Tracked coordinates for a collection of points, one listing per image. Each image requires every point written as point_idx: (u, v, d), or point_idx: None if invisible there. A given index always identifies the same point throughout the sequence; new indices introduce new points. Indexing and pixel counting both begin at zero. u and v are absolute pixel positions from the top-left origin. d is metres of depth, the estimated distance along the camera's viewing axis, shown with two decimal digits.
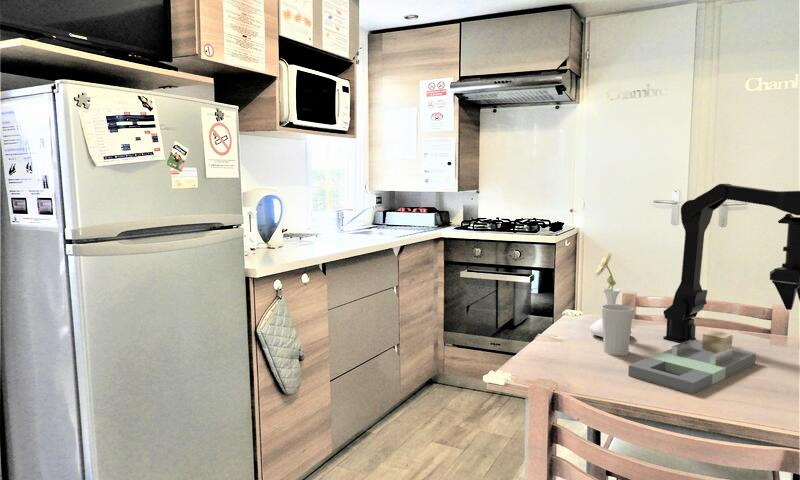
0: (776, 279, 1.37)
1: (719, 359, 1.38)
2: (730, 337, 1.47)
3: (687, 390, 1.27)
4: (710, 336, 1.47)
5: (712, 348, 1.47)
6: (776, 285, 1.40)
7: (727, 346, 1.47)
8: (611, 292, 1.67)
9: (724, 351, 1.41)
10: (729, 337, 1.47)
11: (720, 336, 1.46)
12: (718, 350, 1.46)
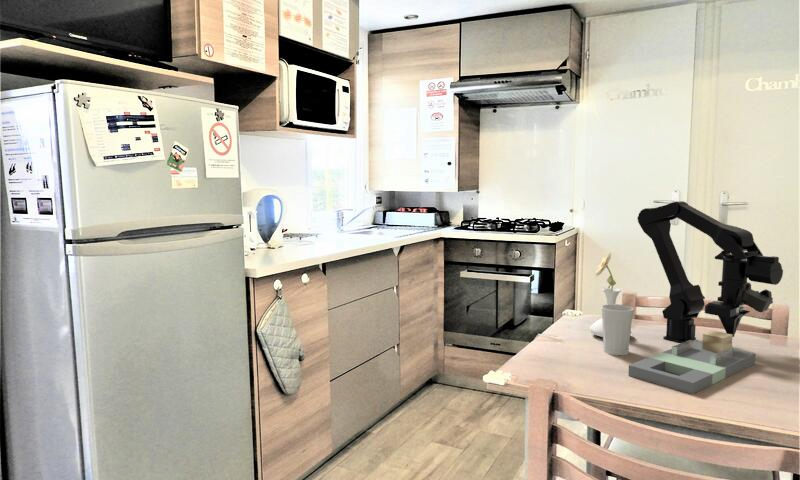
0: (710, 313, 1.48)
1: (719, 359, 1.38)
2: (730, 337, 1.47)
3: (687, 390, 1.27)
4: (710, 336, 1.47)
5: (712, 348, 1.47)
6: None
7: (727, 346, 1.47)
8: (611, 292, 1.67)
9: (724, 351, 1.41)
10: (729, 337, 1.47)
11: (720, 336, 1.46)
12: (718, 350, 1.46)
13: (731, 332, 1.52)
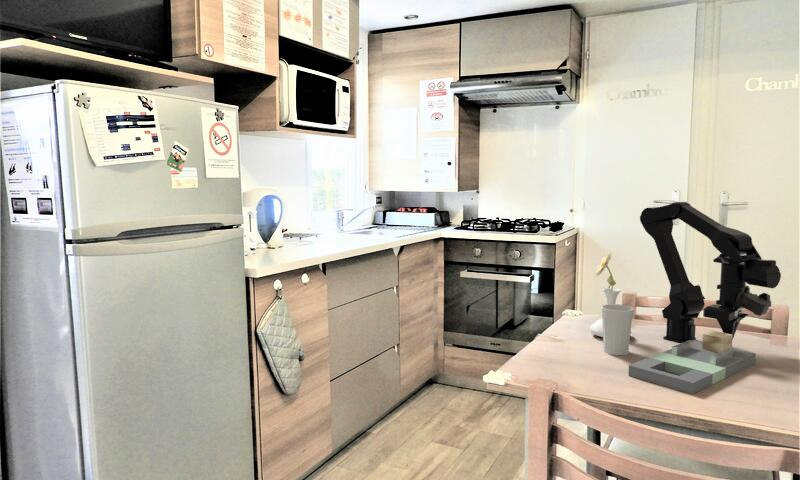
0: (708, 316, 1.47)
1: (719, 359, 1.38)
2: (730, 337, 1.47)
3: (687, 390, 1.27)
4: (710, 336, 1.47)
5: (712, 348, 1.47)
6: (717, 318, 1.53)
7: (727, 346, 1.47)
8: (611, 292, 1.67)
9: (724, 351, 1.41)
10: (729, 337, 1.47)
11: (720, 336, 1.46)
12: (718, 350, 1.46)
13: None
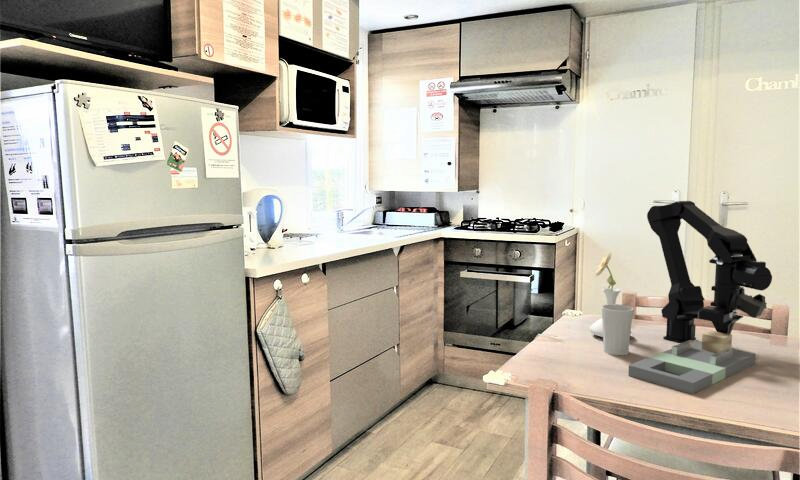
0: (703, 318, 1.46)
1: (719, 359, 1.38)
2: (730, 337, 1.47)
3: (687, 390, 1.27)
4: (710, 336, 1.47)
5: (712, 349, 1.47)
6: None
7: (727, 346, 1.46)
8: (611, 292, 1.67)
9: (724, 351, 1.41)
10: (729, 337, 1.47)
11: (720, 336, 1.46)
12: (718, 350, 1.46)
13: None
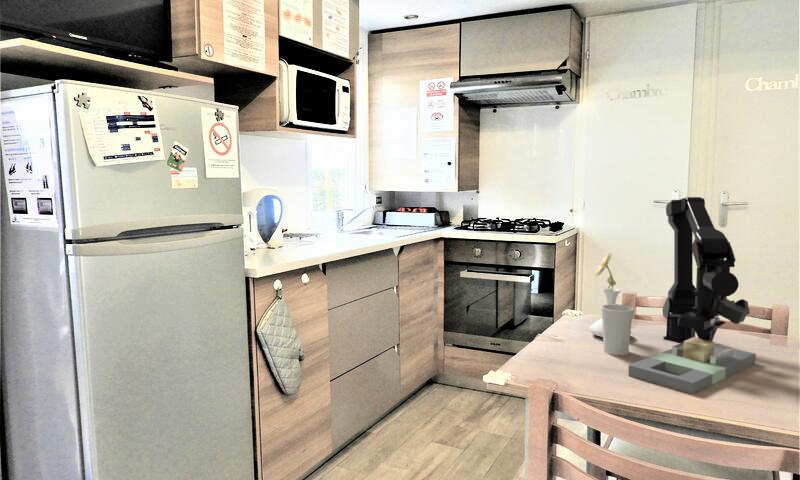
0: (683, 325, 1.39)
1: (719, 359, 1.38)
2: (712, 344, 1.41)
3: (687, 390, 1.27)
4: (691, 344, 1.41)
5: (693, 356, 1.41)
6: None
7: (708, 354, 1.41)
8: (611, 292, 1.67)
9: (724, 351, 1.41)
10: (711, 344, 1.41)
11: (701, 344, 1.40)
12: (699, 358, 1.40)
13: None
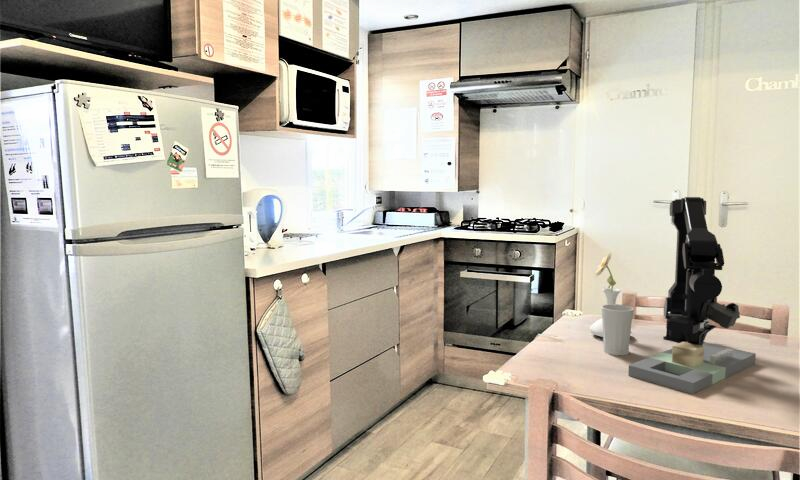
0: (672, 328, 1.36)
1: (719, 359, 1.38)
2: (702, 349, 1.38)
3: (687, 390, 1.27)
4: (680, 348, 1.38)
5: (683, 361, 1.37)
6: None
7: (698, 359, 1.37)
8: (611, 292, 1.67)
9: (724, 351, 1.41)
10: (700, 349, 1.37)
11: (691, 348, 1.37)
12: (689, 363, 1.36)
13: None
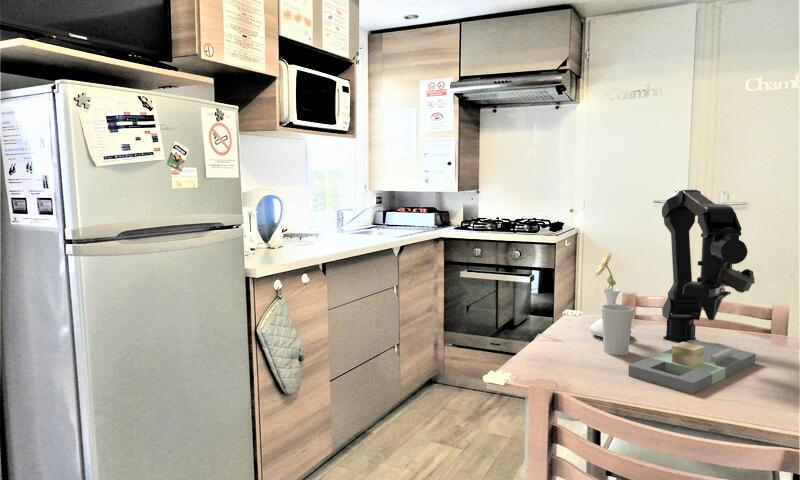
0: (688, 293, 1.40)
1: (719, 359, 1.38)
2: (701, 349, 1.38)
3: (687, 390, 1.27)
4: (680, 348, 1.38)
5: (682, 361, 1.37)
6: (698, 296, 1.45)
7: (698, 359, 1.37)
8: (611, 292, 1.67)
9: (724, 351, 1.41)
10: (700, 349, 1.37)
11: (690, 348, 1.37)
12: (688, 363, 1.36)
13: (711, 314, 1.44)
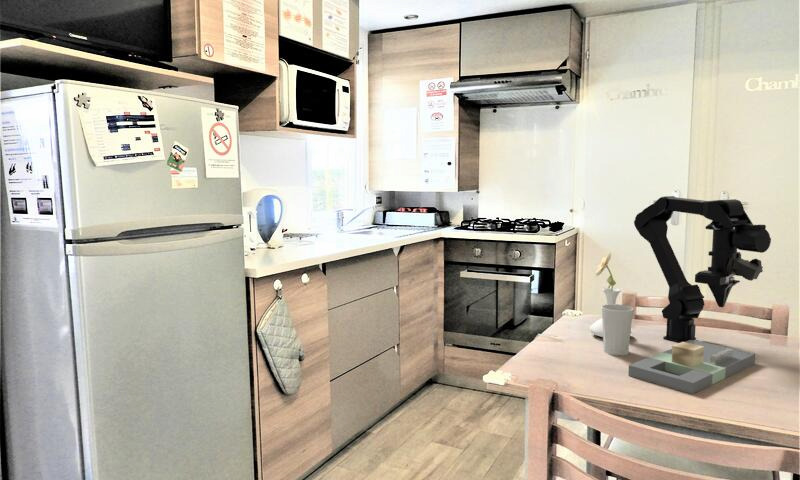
0: (700, 281, 1.48)
1: (719, 359, 1.38)
2: (701, 349, 1.38)
3: (687, 390, 1.27)
4: (680, 348, 1.38)
5: (682, 361, 1.37)
6: (709, 285, 1.54)
7: (698, 359, 1.37)
8: (611, 292, 1.67)
9: (724, 351, 1.41)
10: (700, 349, 1.37)
11: (690, 348, 1.37)
12: (688, 363, 1.36)
13: (721, 302, 1.53)
